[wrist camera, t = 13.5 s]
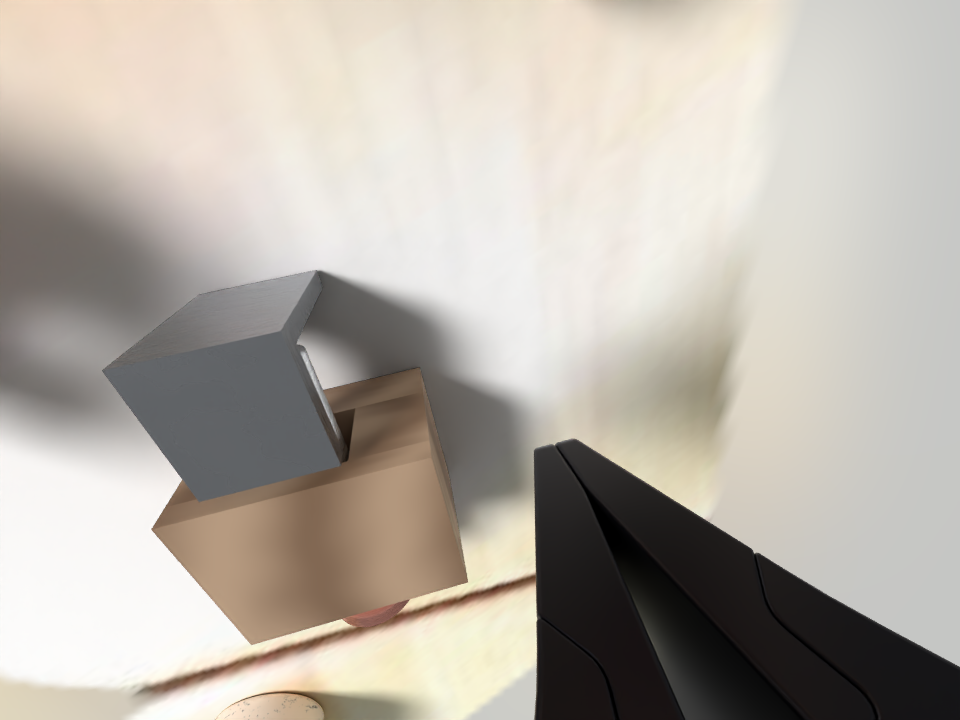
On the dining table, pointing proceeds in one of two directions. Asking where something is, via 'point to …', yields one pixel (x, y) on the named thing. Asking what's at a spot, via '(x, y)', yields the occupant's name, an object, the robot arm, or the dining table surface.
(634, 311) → the dining table surface
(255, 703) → the teacup with lid
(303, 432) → the bracket
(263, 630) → the hitch block
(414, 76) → the dining table surface
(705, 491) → the dining table surface
